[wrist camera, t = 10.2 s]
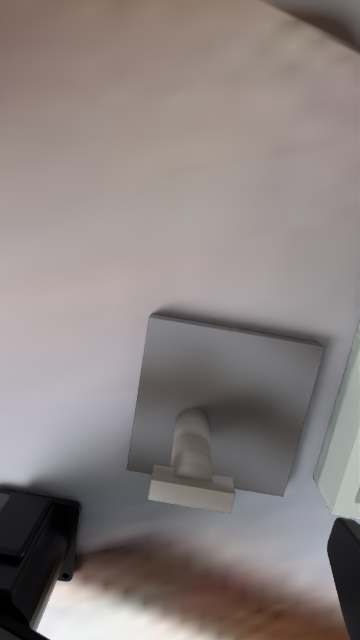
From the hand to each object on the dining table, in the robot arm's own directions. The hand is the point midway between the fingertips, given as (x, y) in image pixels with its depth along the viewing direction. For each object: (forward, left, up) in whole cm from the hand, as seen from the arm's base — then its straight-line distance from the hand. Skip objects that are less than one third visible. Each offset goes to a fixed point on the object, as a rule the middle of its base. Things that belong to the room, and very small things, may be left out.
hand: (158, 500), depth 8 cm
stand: (-3, -3, -12) cm, 13 cm away
